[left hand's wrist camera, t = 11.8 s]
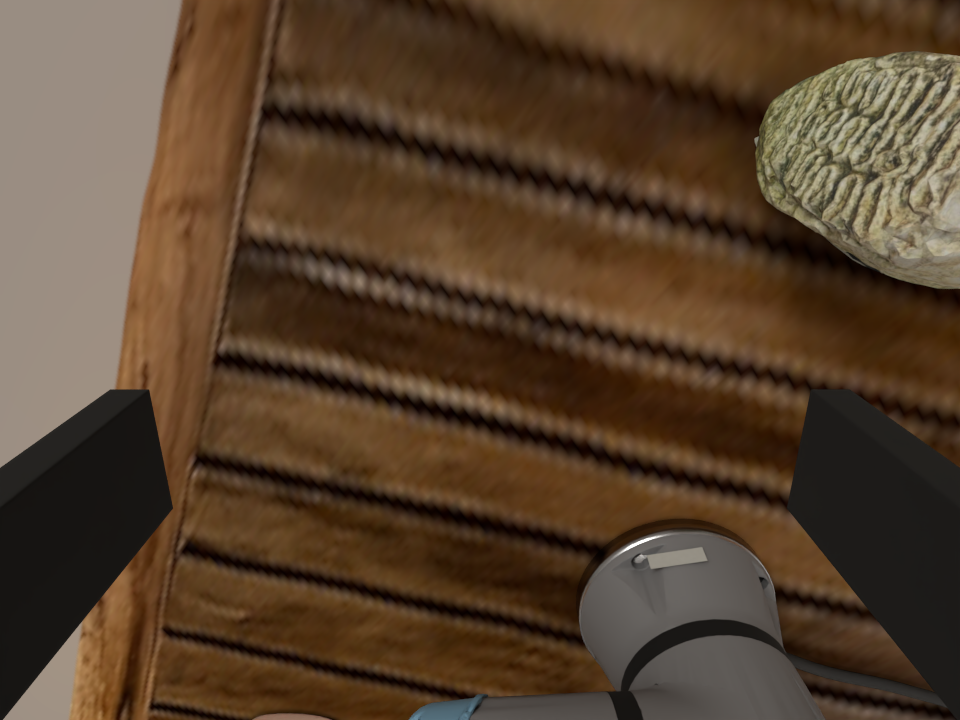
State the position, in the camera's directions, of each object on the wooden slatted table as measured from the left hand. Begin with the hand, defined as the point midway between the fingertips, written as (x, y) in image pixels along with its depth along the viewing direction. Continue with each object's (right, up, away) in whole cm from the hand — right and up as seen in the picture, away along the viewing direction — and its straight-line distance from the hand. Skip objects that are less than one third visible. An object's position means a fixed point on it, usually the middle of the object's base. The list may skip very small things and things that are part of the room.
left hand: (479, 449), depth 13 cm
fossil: (+24, +13, +27) cm, 38 cm away
